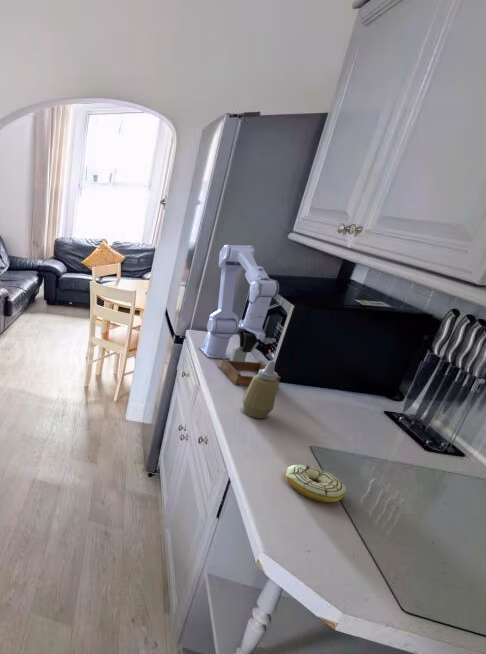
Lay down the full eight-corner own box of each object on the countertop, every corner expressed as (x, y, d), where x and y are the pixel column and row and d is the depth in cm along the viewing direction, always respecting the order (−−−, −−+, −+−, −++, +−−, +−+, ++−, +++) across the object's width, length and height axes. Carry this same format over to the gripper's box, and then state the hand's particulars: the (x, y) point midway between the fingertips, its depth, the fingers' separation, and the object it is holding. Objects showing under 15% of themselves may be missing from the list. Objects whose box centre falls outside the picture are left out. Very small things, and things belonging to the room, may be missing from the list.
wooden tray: (219, 367, 151) (222, 358, 150) (258, 370, 149) (261, 361, 148) (234, 384, 139) (238, 374, 137) (277, 388, 137) (280, 377, 136)
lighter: (232, 361, 142) (237, 341, 139) (230, 359, 144) (235, 339, 141) (253, 362, 141) (259, 341, 138) (251, 360, 143) (257, 339, 140)
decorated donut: (298, 468, 99) (303, 456, 97) (350, 496, 90) (356, 483, 89) (274, 480, 94) (279, 468, 93) (326, 512, 86) (333, 498, 84)
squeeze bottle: (260, 407, 125) (278, 356, 118) (275, 421, 118) (295, 368, 111) (234, 405, 126) (250, 354, 119) (247, 419, 119) (265, 366, 111)
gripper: (234, 307, 142) (224, 342, 148) (253, 320, 129) (241, 358, 135) (255, 308, 142) (244, 343, 147) (276, 322, 128) (263, 359, 134)
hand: (244, 350), depth 141 cm, fingers closed on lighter, 2 cm apart
